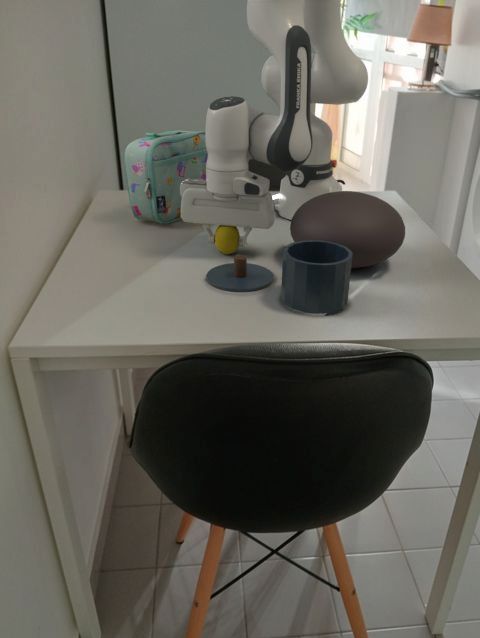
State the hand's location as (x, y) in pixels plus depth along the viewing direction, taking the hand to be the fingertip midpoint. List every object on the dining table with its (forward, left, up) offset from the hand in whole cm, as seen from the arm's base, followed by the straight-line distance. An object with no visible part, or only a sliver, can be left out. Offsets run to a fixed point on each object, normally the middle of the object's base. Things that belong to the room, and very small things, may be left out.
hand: (227, 244), depth 134 cm
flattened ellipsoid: (-12, +23, -3) cm, 26 cm away
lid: (+10, +10, -2) cm, 14 cm away
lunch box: (-16, -28, -3) cm, 32 cm away
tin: (+10, +27, -3) cm, 29 cm away
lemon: (0, 0, -3) cm, 3 cm away
